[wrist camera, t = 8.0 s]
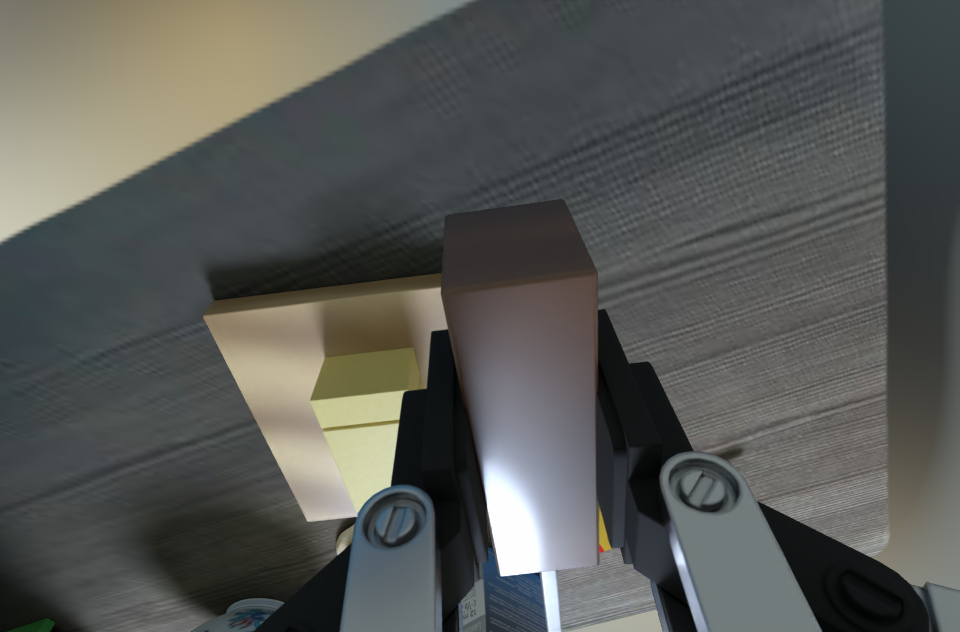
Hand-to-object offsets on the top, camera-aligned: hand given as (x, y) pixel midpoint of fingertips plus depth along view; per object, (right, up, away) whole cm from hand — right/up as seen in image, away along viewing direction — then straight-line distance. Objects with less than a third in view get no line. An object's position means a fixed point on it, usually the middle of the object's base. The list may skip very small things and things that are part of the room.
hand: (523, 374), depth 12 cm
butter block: (-7, -5, +20) cm, 22 cm away
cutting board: (-7, -4, +21) cm, 22 cm away
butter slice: (-7, -1, +17) cm, 19 cm away
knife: (+1, -3, +3) cm, 5 cm away
